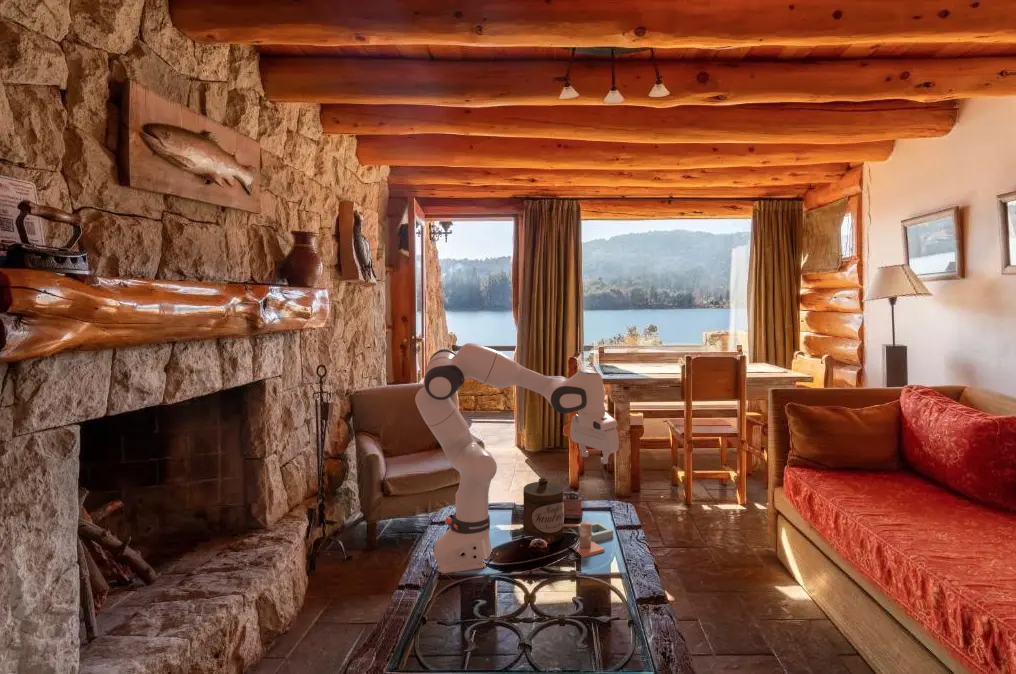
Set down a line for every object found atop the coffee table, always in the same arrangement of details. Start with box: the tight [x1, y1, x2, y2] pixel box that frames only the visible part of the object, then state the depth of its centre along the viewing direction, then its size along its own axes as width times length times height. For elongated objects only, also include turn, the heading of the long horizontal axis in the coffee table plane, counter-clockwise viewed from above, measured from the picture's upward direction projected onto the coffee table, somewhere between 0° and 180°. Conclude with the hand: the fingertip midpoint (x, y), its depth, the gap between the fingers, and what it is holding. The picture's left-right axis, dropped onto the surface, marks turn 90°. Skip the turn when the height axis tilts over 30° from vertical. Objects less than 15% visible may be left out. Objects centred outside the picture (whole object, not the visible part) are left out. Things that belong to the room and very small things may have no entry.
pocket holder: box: [578, 521, 614, 543], centre depth 223 cm, size 9×9×2 cm
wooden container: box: [522, 476, 565, 537], centre depth 222 cm, size 15×15×22 cm
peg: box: [579, 521, 593, 548], centre depth 212 cm, size 4×4×8 cm
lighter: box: [563, 491, 583, 519], centre depth 241 cm, size 8×3×10 cm, turn 84°
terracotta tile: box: [577, 540, 605, 558], centre depth 212 cm, size 9×9×1 cm
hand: (594, 459), depth 199 cm, fingers open, 8 cm apart
